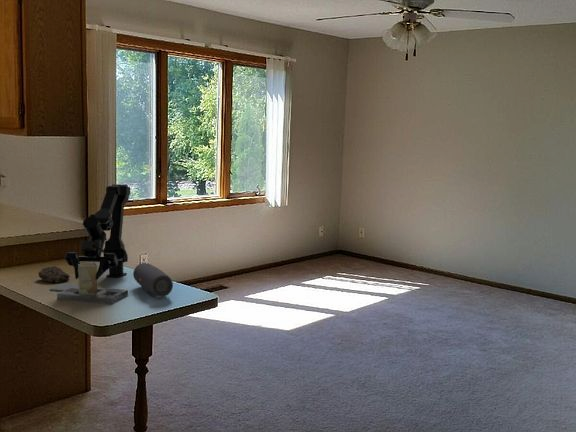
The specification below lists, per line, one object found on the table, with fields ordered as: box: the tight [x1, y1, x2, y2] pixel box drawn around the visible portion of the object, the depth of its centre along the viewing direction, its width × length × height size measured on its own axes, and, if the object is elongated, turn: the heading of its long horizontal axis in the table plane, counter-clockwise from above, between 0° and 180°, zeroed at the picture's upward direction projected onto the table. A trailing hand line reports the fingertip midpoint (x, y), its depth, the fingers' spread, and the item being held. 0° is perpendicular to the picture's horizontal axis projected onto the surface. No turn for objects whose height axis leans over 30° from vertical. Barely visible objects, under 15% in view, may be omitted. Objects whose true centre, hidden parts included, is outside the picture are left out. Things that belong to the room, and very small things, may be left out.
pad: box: [49, 282, 79, 292], centre depth 238 cm, size 9×9×1 cm
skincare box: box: [77, 262, 98, 295], centre depth 227 cm, size 6×4×12 cm
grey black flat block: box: [56, 286, 129, 305], centre depth 227 cm, size 12×22×2 cm, turn 77°
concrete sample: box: [38, 265, 71, 284], centre depth 250 cm, size 12×10×5 cm
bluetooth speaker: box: [132, 262, 174, 298], centre depth 234 cm, size 23×9×10 cm, turn 30°
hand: (86, 278), depth 225 cm, fingers closed on skincare box, 7 cm apart
